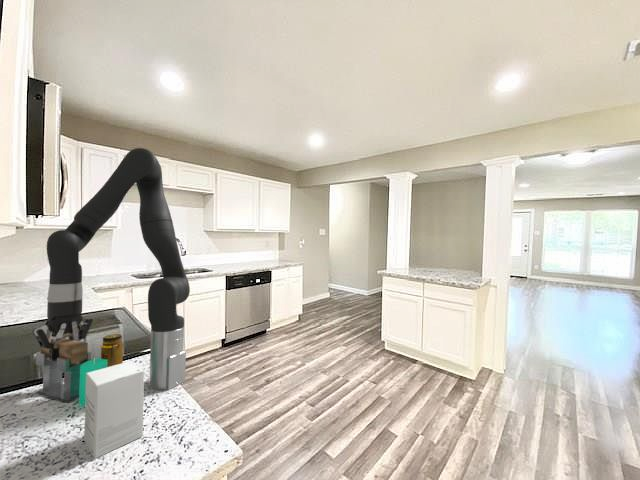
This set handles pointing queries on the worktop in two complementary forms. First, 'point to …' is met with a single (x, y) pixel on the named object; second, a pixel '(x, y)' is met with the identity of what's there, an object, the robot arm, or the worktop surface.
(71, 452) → the worktop surface
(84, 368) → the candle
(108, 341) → the condiment
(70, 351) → the rail
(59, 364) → the rack
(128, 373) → the supplement box
